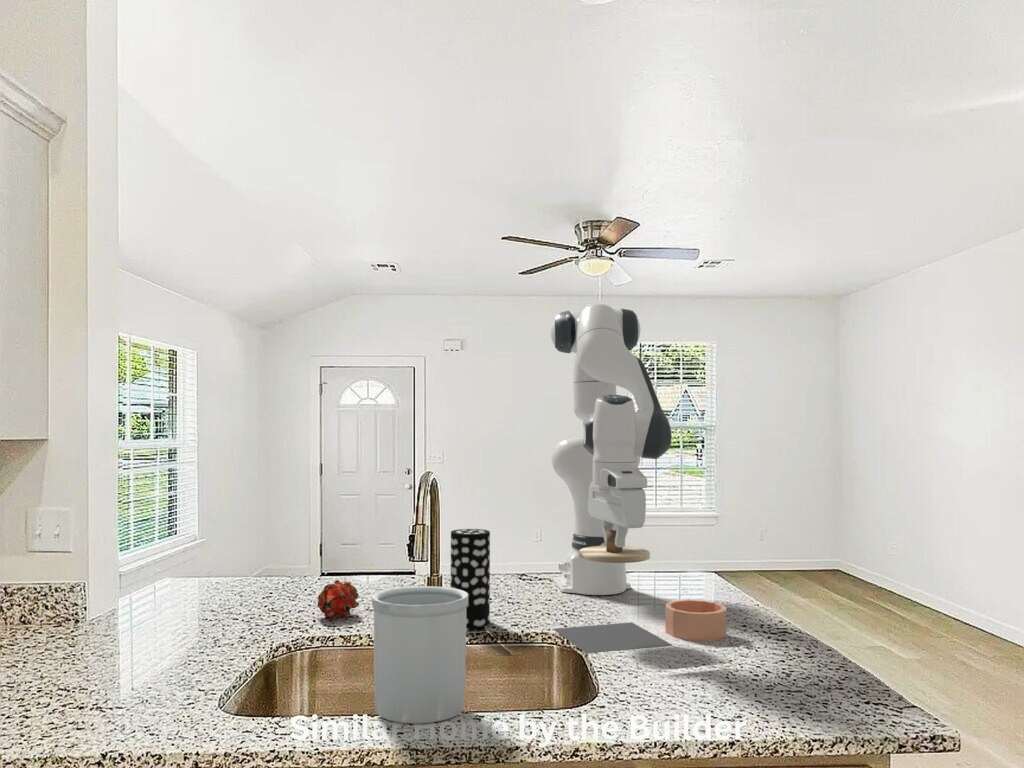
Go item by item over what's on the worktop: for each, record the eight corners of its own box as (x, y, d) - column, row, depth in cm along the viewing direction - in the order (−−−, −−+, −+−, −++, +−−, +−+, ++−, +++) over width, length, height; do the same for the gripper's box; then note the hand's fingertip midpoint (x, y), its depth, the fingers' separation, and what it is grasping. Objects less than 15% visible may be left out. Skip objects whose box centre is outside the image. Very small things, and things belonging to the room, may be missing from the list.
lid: (569, 552, 175) (569, 527, 175) (631, 549, 179) (631, 525, 179) (596, 564, 162) (596, 538, 162) (662, 560, 166) (662, 535, 166)
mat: (552, 632, 175) (552, 628, 175) (631, 626, 181) (631, 622, 181) (586, 657, 158) (586, 652, 158) (672, 649, 164) (672, 645, 164)
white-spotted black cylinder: (484, 632, 175) (484, 535, 176) (445, 630, 177) (446, 533, 178) (493, 622, 184) (493, 529, 184) (456, 620, 185) (456, 528, 186)
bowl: (655, 630, 177) (655, 602, 177) (706, 626, 181) (706, 598, 181) (684, 646, 166) (684, 615, 166) (737, 641, 169) (737, 611, 169)
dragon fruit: (354, 617, 194) (328, 638, 183) (325, 594, 195) (299, 613, 184) (372, 589, 192) (348, 609, 180) (343, 566, 193) (317, 584, 182)
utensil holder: (376, 692, 138) (376, 584, 139) (467, 691, 139) (468, 583, 140) (365, 727, 124) (366, 606, 124) (468, 725, 125) (468, 604, 125)
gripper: (580, 472, 180) (580, 537, 179) (621, 480, 160) (621, 554, 160) (608, 471, 182) (608, 536, 181) (651, 479, 162) (651, 552, 162)
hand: (614, 545), depth 170 cm, fingers closed on lid, 3 cm apart
